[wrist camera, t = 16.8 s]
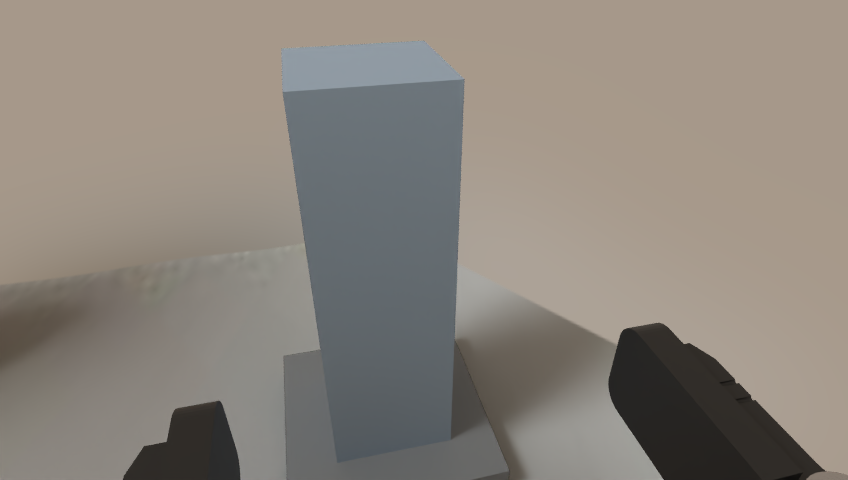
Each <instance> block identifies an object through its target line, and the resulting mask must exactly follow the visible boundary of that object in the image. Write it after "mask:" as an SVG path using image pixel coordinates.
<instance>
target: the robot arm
mask: <svg viewBox="0 0 848 480" xmlns="http://www.w3.org/2000/svg"><path fill="white" fill-rule="evenodd" d="M609 392H610V396H611V400H612V402H613V404H614V406H615V408H616V410H617V411H618V413H619V414H620V416H621V417H622V419H623V420H624V422H625V423H626V425H627V426H628V428H629V429H630V430H631V432H632V433H633V435H634V436H635V438H636V439H637V441H638V442H639V444H640V445H641V447H642V448H643V450H644V451H645V453H646V454H647V455H648V457H649V458H650V460H651V461H652V463H653V464H654V466H655V467H656V469H657V470H658V472H659V473H660V475H661V476H662V478H663V479H664V480H848V476H847V475H845V474H841V473H837V472H826V471H825V470H824V469H822V468H821V467H820V466H819V465H818V464H817V463H816V462H815V461H814V460H813V459H812V458H811V457H810V456H809V455H808V454H807V453H806V452H805V451H804V450H803V449H802V448H801V447H800V446H799V445H798V444H797V443H796V442H795V441H794V439H793V438H792V437H791V436H789V434H788V433H787V432H786V431H785V430H784V429H783V428H782V427H781V426H780V425H779V424H778V423H777V422H776V421H775V420H774V419H773V418H772V417H771V416H770V415H769V414H768V413H767V412H766V411H765V410H764V409H763V408H762V407H761V406H760V405H759V404H758V402H757V401H756V400H754V401H753V400H752V399H751V395H750V394H749V393H748V392H747V391H746V390H745V389H744V388H743V387H742V386H741V385H740V384H739V383H738V384H736V383H735V379H734V378H733V377H732V376H731V375H730V374H729V373H728V372H727V371H726V370H725V369H724V367H723V366H722V365H721V364H719V362H718V361H717V360H716V359H714V358H713V357H711V356H710V355H708V354H706V353H705V352H703V351H701V350H700V349H698V348H697V347H695V346H693V345H692V344H690V343H688V344H683V343H682V342H681V341H680V340H679V339H678V338H677V337H676V336H675V334H674V333H673V332H672V331H671V330H670V329H669V328H668V327H667V326H665V325H664V324H661V323H655V324H649V325H644V326H638V327H632V328H627V329H624V330H623V331H622V333H621V335H620V338H619V342H618V346H617V349H616V353H615V357H614V361H613V365H612V369H611V372H610V376H609ZM123 480H240V467H239V460H238V454H237V451H236V447H235V444H234V441H233V438H232V434H231V431H230V428H229V425H228V421H227V418H226V415H225V412H224V408H223V405H222V403H221V402H220V401H216V402H210V403H205V404H199V405H193V406H188V407H182V408H177V409H175V410H174V412H173V415H172V418H171V423H170V428H169V433H168V438H167V442H164V443H159V444H154V445H149V446H144V447H143V449H142V450H141V452H140V453H139V455H138V456H137V458H136V459H135V460H134V462H133V463H132V465H131V466H130V468H129V469H128V471H127V472H126V474H125V475H124V478H123Z"/></svg>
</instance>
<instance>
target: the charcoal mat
mask: <svg viewBox="0 0 848 480" xmlns="http://www.w3.org/2000/svg"><path fill="white" fill-rule="evenodd" d="M284 389H285V427H286V465H287V480H509V472H510V471H509V468H508V466H507V463H506V461H505V459H504V456H503V454H502V451H501V449H500V447H499V444H498V442H497V439H496V437H495V435H494V432H493V430H492V427H491V425H490V423H489V420H488V418H487V415H486V413H485V411H484V408H483V406H482V404H481V401H480V399H479V396H478V394H477V392H476V389H475V387H474V384H473V382H472V380H471V377H470V375H469V372H468V370H467V368H466V365H465V363H464V360H463V358H462V356H461V353H460V351H459V348H458V346H457V344H456V341H455V339H454V364H453V390H452V417H451V440H447V441H443V442H438V443H433V444H428V445H423V446H418V447H413V448H408V449H403V450H398V451H393V452H388V453H384V454H379V455H374V456H369V457H364V458H359V459H354V460H349V461H344V462H339V463H337V457H336V450H335V444H334V437H333V430H332V423H331V417H330V410H329V403H328V396H327V389H326V383H325V376H324V369H323V362H322V355H321V350H316V351H310V352H304V353H298V354H292V355H286V356H284Z"/></svg>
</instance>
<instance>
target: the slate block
mask: <svg viewBox="0 0 848 480" xmlns="http://www.w3.org/2000/svg"><path fill="white" fill-rule="evenodd" d="M282 85H283V97H284V104H285V111H286V118H287V125H288V131H289V138H290V144H291V152H292V159H293V165H294V171H295V178H296V186H297V193H298V199H299V206H300V213H301V219H302V226H303V233H304V240H305V247H306V254H307V260H308V267H309V274H310V281H311V288H312V294H313V301H314V308H315V315H316V322H317V328H318V335H319V342H320V349H321V355H322V362H323V369H324V376H325V383H326V389H327V396H328V403H329V410H330V417H331V423H332V430H333V437H334V444H335V450H336V457H337V463H339V462H344V461H349V460H354V459H359V458H364V457H369V456H374V455H379V454H384V453H388V452H393V451H398V450H403V449H408V448H413V447H418V446H423V445H428V444H433V443H438V442H443V441H447V440H451V417H452V390H453V364H454V338H455V312H456V286H457V260H458V234H459V233H458V232H459V208H460V181H461V156H462V129H463V128H462V127H463V104H464V78H463V77H462V76H460V75H459V74H458V73H457V72H456V71H455V70H454V69H453V68H452V67H451V66H450V65H449V64H448V63H447V62H446V61H445V60H444V59H443V58H442V57H441V56H440V55H439V54H437V53H436V52H435V51H434V50H433V49H432V48H431V47H430V46H429V45H428V44H427V43H426V42H425V41H412V42H393V43H376V44H358V45H338V46H321V47H302V48H283V49H282Z"/></svg>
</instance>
